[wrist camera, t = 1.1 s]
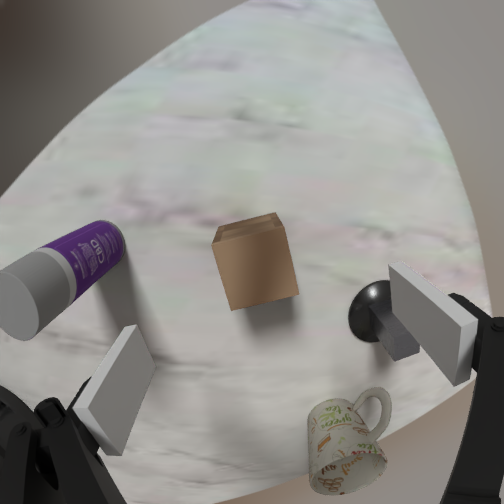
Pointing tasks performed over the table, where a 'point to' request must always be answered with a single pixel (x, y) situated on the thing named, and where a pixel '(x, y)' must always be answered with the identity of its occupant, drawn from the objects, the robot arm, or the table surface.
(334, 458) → the mug
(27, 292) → the container
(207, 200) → the table surface
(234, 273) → the brown shipping carton
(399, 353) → the post
